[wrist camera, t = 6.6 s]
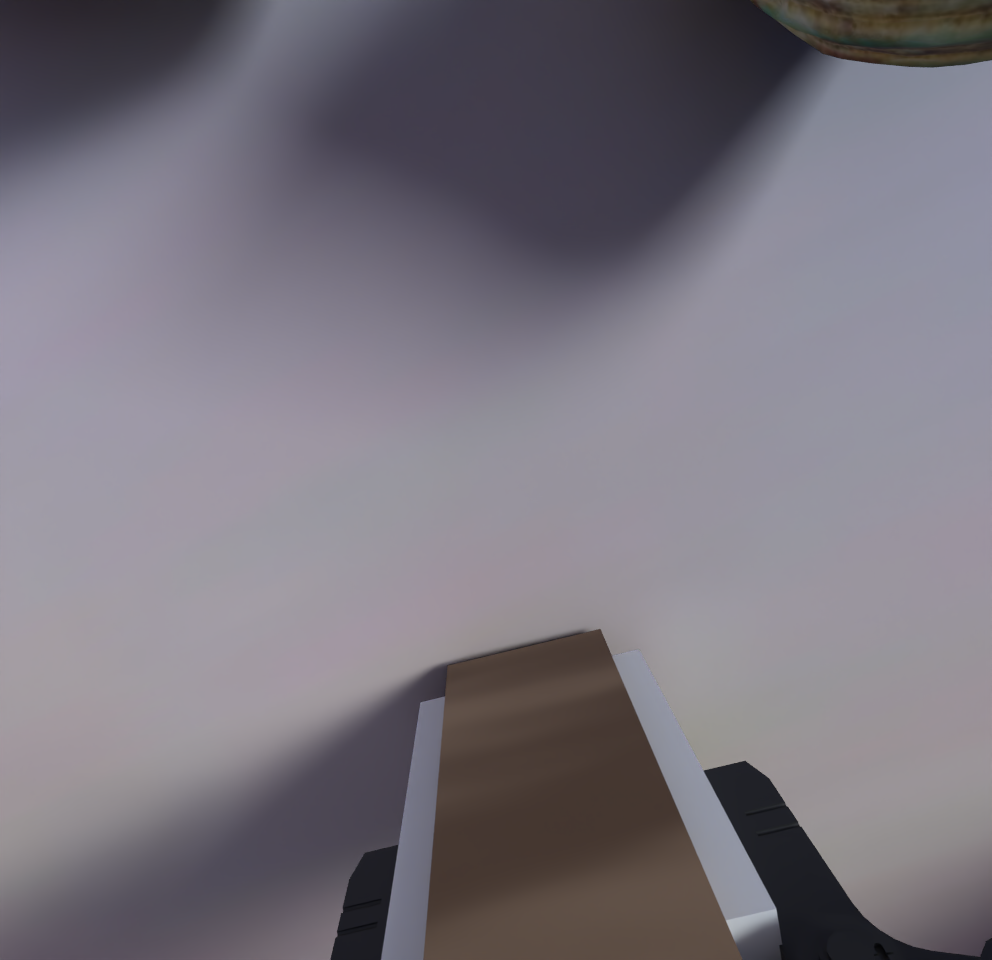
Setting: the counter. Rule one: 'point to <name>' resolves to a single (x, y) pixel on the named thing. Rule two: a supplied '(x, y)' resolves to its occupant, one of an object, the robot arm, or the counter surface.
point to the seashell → (891, 29)
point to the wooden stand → (559, 820)
